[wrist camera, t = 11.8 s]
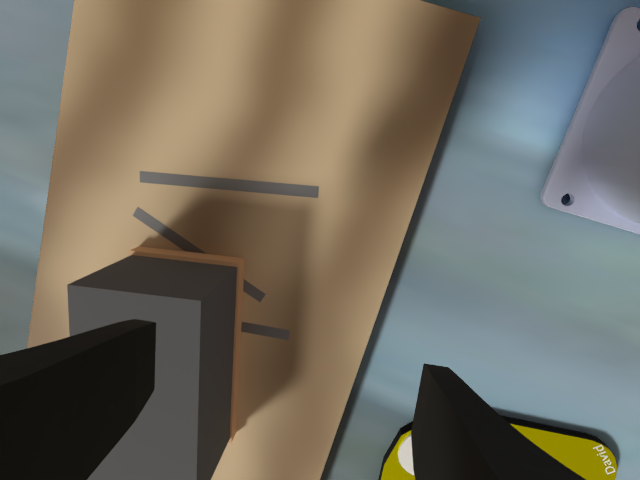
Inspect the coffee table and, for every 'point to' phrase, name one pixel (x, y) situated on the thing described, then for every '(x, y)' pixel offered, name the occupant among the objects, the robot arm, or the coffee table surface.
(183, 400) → the block
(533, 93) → the coffee table surface
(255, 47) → the oak board
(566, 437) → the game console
